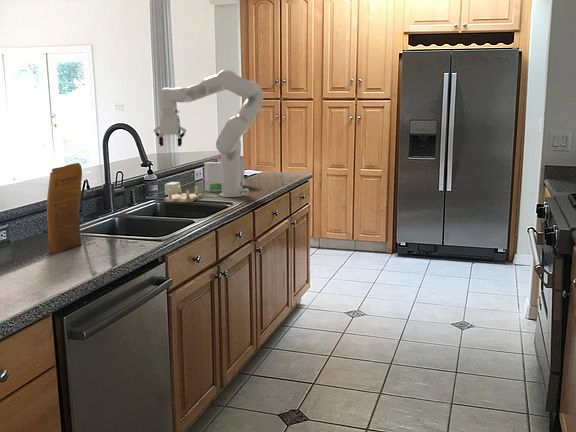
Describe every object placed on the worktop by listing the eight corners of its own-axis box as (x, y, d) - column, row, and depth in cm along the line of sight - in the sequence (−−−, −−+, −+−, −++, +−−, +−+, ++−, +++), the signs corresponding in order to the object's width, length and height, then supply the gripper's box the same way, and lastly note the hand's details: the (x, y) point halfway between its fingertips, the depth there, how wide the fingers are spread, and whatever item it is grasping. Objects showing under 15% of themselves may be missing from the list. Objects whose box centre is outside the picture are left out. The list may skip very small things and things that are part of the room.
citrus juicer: (247, 184, 365) (247, 149, 361) (242, 188, 348) (241, 152, 344) (221, 183, 366) (220, 149, 363) (215, 187, 349) (214, 152, 346)
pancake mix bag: (93, 242, 216) (88, 162, 211) (57, 255, 198) (51, 168, 193) (77, 241, 218) (71, 161, 213) (40, 254, 200) (33, 167, 195)
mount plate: (202, 196, 318) (201, 186, 317) (191, 202, 301) (191, 190, 300) (176, 196, 320) (175, 185, 319) (164, 201, 303) (163, 190, 302)
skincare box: (208, 192, 334) (207, 163, 331) (204, 190, 339) (203, 162, 336) (223, 190, 338) (222, 162, 335) (218, 189, 343) (217, 161, 340)
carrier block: (180, 193, 331) (179, 182, 330) (174, 196, 322) (173, 184, 320) (171, 193, 332) (170, 181, 331) (165, 195, 322) (164, 184, 321)
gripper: (187, 112, 321) (188, 145, 324) (156, 112, 324) (157, 145, 327) (183, 112, 314) (184, 146, 317) (150, 112, 317) (152, 146, 320)
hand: (170, 145), depth 322 cm, fingers open, 9 cm apart
